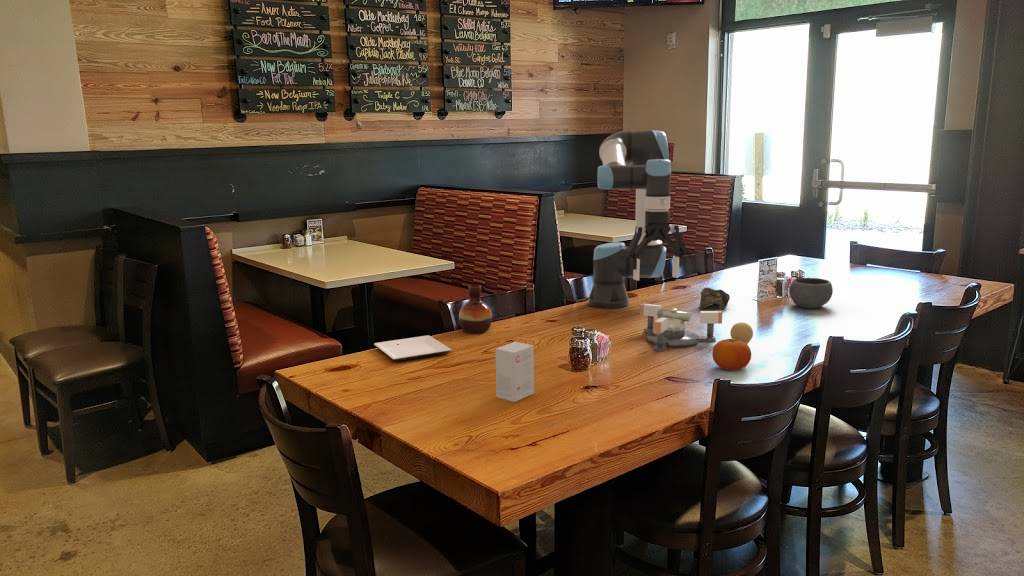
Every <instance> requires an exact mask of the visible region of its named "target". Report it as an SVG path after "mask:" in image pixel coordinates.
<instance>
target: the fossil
mask: <svg viewBox="0 0 1024 576" xmlns="http://www.w3.org/2000/svg"><path fill="white" fill-rule="evenodd" d="M730 297H731V296H730V294H728V293H727V292H726V291H724V290H723V289H714V288H711V287H707V286H706V287H704V288H702V291H700V300H699V301H700V302H699V308H700V309H701V310H704V309H705V308H707V307H709V306H716V305H717V306H718V307H719V310H720V311H722V310H723V311H725V309H726V308H727V306H728V304H729V301H730Z"/></svg>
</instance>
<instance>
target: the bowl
mask: <svg viewBox="0 0 1024 576" xmlns="http://www.w3.org/2000/svg"><path fill="white" fill-rule="evenodd" d="M833 291H834V289H833V285H832V282H831V281H830V280H827V279H823V278H819V277H799V278H794V279H793V280H792V281H791V283H790V285H789V296H790V298H791V300H792V302H793V303H794V304H795V305H796V306H798V307H800V308H805V309H817V308H820V307H823V306H824V305H826V304H828V303H829V301H831V299H832V297H833Z"/></svg>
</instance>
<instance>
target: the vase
mask: <svg viewBox="0 0 1024 576" xmlns="http://www.w3.org/2000/svg"><path fill="white" fill-rule="evenodd" d="M481 289H482V285H480V284H469V285H468V294H469V299H468V301H467V302H465V303H464V304H463V305H462V306H461V308H460V310H459V314H458V321H459V325H460V328H461V330H463V332H465V333H467V334H482V333H486V332H487V331H488V330H489V329H490V327H491V325H492V319H493V314H492V310H491V308H490V306H489V305H488V304H487V303H486V302H484V301H482V299H481V297H482V296H481V295H482V294H481V293H482V291H481Z"/></svg>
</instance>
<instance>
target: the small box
mask: <svg viewBox="0 0 1024 576" xmlns="http://www.w3.org/2000/svg"><path fill="white" fill-rule="evenodd" d="M494 350H495V351H494V352H495V353H494V354H495V392H496V398H498V399H501V400H505V401H508V402H513V403H516V402H518V401H520V400H523V399H525V398H527V397H529V396H531V395H535V369H534V367H535V366H534V365H535V360H534V358H535V356H534V352H535V351H534V345H532V344H528V343H525V342H524V343H523V342H519V341H513V342H510V343H508V344H505V345H502V346H499V347H495V348H494Z"/></svg>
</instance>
